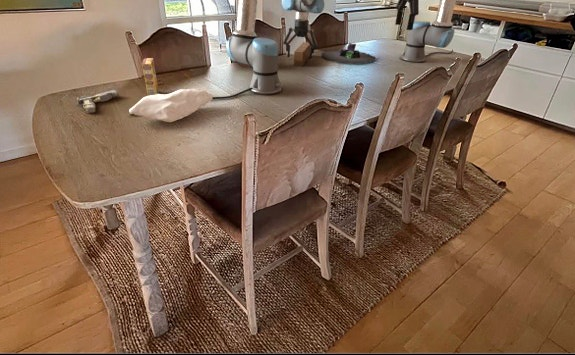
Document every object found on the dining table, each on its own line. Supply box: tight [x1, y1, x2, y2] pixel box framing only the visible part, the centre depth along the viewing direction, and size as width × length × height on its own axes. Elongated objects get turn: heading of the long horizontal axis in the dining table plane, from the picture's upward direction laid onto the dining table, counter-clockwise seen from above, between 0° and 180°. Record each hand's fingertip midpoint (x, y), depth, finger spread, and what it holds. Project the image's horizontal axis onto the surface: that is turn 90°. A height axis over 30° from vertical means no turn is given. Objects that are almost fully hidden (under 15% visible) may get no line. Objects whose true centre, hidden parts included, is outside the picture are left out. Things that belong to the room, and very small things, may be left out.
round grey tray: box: [321, 42, 377, 64], centre depth 234 cm, size 35×35×9 cm
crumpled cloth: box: [129, 88, 214, 123], centre depth 147 cm, size 24×35×9 cm
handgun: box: [76, 89, 120, 114], centre depth 155 cm, size 3×18×15 cm
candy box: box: [141, 57, 160, 96], centre depth 163 cm, size 9×4×15 cm, turn 13°
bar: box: [293, 41, 311, 67], centre depth 224 cm, size 26×5×8 cm, turn 166°
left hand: (299, 57), depth 217 cm, fingers open, 13 cm apart
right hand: (403, 27), depth 184 cm, fingers open, 13 cm apart
